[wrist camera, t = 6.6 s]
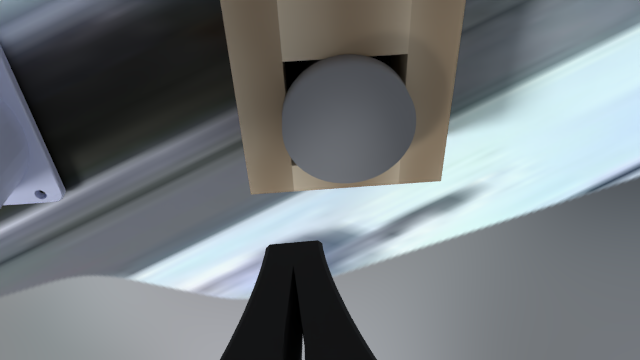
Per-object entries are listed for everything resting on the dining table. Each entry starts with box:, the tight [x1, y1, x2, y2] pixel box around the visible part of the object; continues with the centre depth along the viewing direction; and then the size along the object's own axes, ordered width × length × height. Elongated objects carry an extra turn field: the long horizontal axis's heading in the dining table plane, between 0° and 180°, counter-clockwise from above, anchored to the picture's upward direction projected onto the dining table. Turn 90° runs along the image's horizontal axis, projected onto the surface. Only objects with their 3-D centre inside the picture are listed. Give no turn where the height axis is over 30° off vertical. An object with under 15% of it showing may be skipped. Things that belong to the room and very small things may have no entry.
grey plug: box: [282, 54, 416, 184], centre depth 19 cm, size 5×5×4 cm
